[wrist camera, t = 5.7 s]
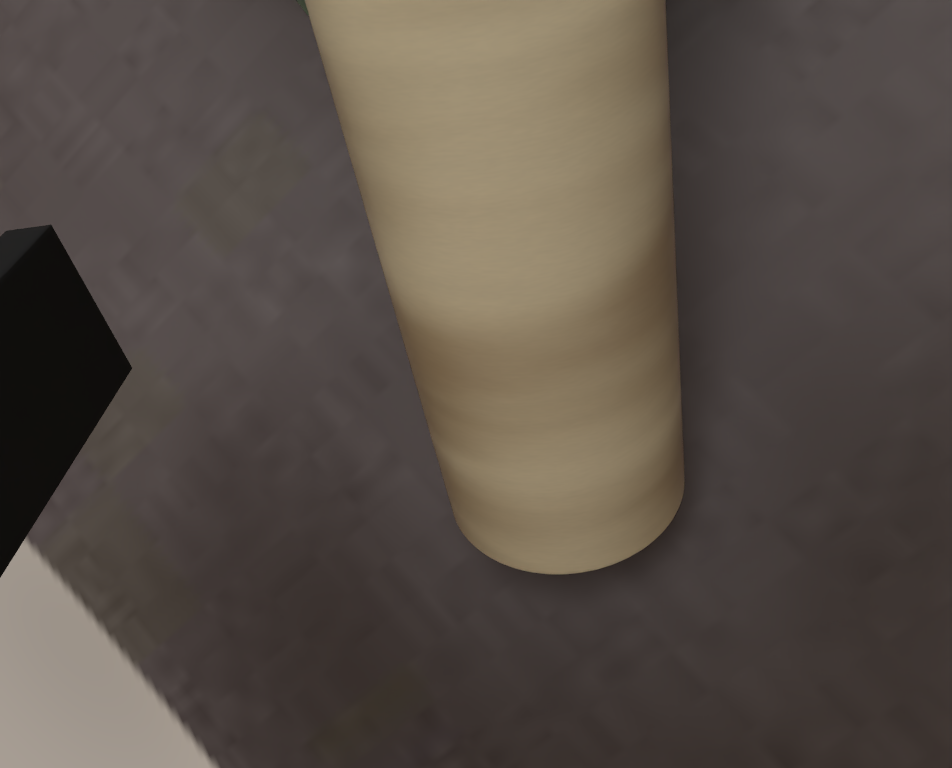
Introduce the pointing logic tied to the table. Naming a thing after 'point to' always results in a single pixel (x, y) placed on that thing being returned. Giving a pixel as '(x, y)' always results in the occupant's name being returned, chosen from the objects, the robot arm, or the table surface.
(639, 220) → the pepper mill
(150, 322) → the table surface
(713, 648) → the table surface
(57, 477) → the robot arm
